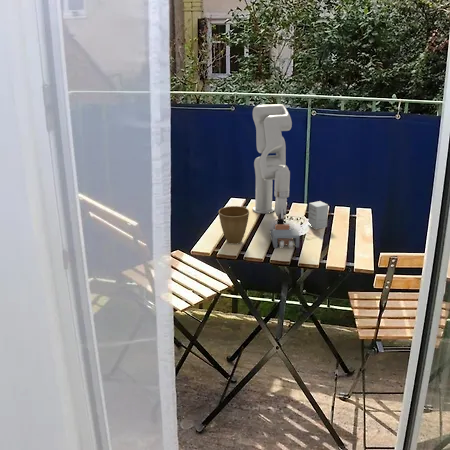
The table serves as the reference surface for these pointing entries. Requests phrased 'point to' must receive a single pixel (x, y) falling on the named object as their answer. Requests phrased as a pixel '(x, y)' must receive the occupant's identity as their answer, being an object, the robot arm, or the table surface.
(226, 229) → the plant pot
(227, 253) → the table surface
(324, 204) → the supplement box
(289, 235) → the bridge
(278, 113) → the robot arm
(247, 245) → the table surface
